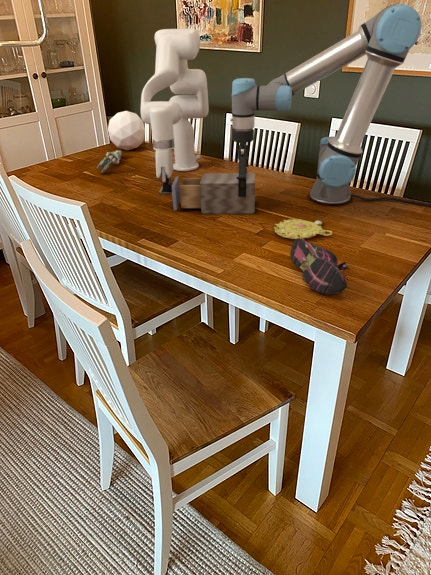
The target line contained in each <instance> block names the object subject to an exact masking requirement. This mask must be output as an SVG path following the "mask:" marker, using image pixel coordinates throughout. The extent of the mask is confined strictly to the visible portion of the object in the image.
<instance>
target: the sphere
mask: <svg viewBox="0 0 431 575" xmlns="http://www.w3.org/2000/svg"><path fill="white" fill-rule="evenodd" d="M107 131H108V135H109V141H111V142H112V143H113V145H115V146H116V148H118V149H122V150H125V151H130V150H134V149H136V148H138V147H139V146H141V145H142V144H143V143H144V142H145V136H146V129H145V124H144V122H143V120H142V118H141V117H140V116H139V115H138V114H137V113H136V112H132V111H129V110H124V111H120V112H116V114H115V115H113V116H112V117H111V118H110V119H109V122H108V125H107Z"/></svg>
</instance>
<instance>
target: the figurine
mask: <svg viewBox="0 0 431 575" xmlns="http://www.w3.org/2000/svg"><path fill="white" fill-rule="evenodd" d="M122 153H123V152H122V150H115V151H111V152H110V151H107V152H106V153H105V155H106V156H104V157H103V158H102V159H101V161H100V162H99V163H98V165H97V167H96V169H97V170H100V173H101V174H104V173H105V172H106V171H107V170H108V169H109V168H110V167H111V166H112V165H119V164H120V160H121V158H122V157H123V154H122Z"/></svg>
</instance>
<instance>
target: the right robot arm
mask: <svg viewBox="0 0 431 575" xmlns="http://www.w3.org/2000/svg"><path fill="white" fill-rule="evenodd" d="M421 31H422V20H421V16H420V14H419V13H418V11H417V10H416V9H415V8H414V7H413V6H410V5H408V4H404V3H397V4H391V5H388V6H386V7H384V8H383V9H381V10H380V11H379V12H378V13H376V14H375V15H374V16H372V17H371V18H370V19H368V20H367V21H365V22H363V23H362V24H360V25H359V26H358V28H357V30H356V31H354V32H353V33H351V34H349V35H348V36H346V37H345V38H342V39H341V40H340V41H338V42H336V43H335V44H333V45H331V46H329V47H328V48H326V49H324V50H323V51H321V52H319V53H317V54H316V55H314V56H312V57H310V58H309V59H307V60H305V61H304V62H302V63H301V64H299V65H297V66H295V67H294V68H292V69H290V70H289V71H287V72H285V73H284V74H282V75H281V76H279V77H275V78H273V79H271V80H270V81H269V82H268V84H267V85H257V84H256V80H255V79H254V78H251V77H250V78H249V77H241V78H236V79H233V81H232V84H231V115H232V116H231V118H230V119H229V121H230V122H231V128H232V130H231V140H232V141H233V142H234V143H238V144H237V145H236V146H237V147H236V152H237V160H238V173H239V176H238V177H237V179H238V197H246V173H248V168H249V163H248V161H247V160H248V156H249V151H250V150H249V146H250V145H249V144H247V143H252V142H253V141H254V140H255V129H254V128H255V119H256V118H255V116H256V115H255V111H263V112H264V111H269V112H283V111H284V112H286V111H290V110H291V108H292V99H293V96H294V95H296V94H297V93H300V92H302V91H303V90H305V89H307V88H308V87H310V86H312V85H314V84H316V83H317V82H319V81H321V80H323V79H325V78H327V77H328V76H330V75H332V74H334V73H335V72H337V71H339V70H341V69H343V68H345V67H347V66H348V65H350V64H352V63H353V62H356V61H357V60H359V59H362V58H363V57H364V56H366V57H367V60H366V63H365V64H364V66H363V70H362V72H361V74H360V77H359V79H358V82H357V84H356V87H355V88H354V91H353V94H352V96H351V98H350V101H349V103H348V106H347V108H346V111H345V113H344V116H343V117H342V120H341V123H340V125H339V127H338V130H337V133H336V134H335V136H325V137H322V138H321V139H320V143H319V145H318V146H319V151H318V163H317V172H316V178H315V180H314V183H313V184H312V185H311V186H310V193H309V199H310V200H311V201H312V202H314V203H316V204H320V205H325V206H343V205H346V204H348V203H350V201H351V199H352V198H356V199H359V200H362V201H366V202H371V201H372V202H374V201H382V200H387V201H388V200H389V201H395V202H403V203H407V204H408V203H409V204H415V205H422V206H426V207H427V206H428V207H431V203H430V202H423V201H418V200H412V199H406V198H405V199H404V198H399V197H390V196H380V197H379V196H378V197H364V196H360V195H358V194H353V193H352V192H351V187H350V183H352V181H353V180H354V178H355V176H356V173H357V166H358V163H359V161H360V159H361V156H362V154H363V149H362V147H361V146H362V143H363V141H364V139H365V136H366V134H367V132H368V130H369V127H370V125H371V123H372V122H373V119H374V116H375V114H376V111H377V109H378V108H379V106H380V103H381V101H382V99H383V96H384V94H385V92H386V90H387V87H388V85H389V84H390V80H391V79H392V77H393V74H394V72H395V70H396V69H397V68H398V67H400V66H401V65H403V64H404V62H405V60H406V58H407V56H408V54H409V52H410V50H411V49H412V48H413V47H414V45H415V44H416V43H417V41H418V40H419V37H420V35H421ZM240 175H244V176H240Z"/></svg>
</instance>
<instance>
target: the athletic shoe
mask: <svg viewBox="0 0 431 575" xmlns="http://www.w3.org/2000/svg"><path fill="white" fill-rule="evenodd" d="M289 258H290V259H291V262H292V263H293V264H294V265H295V267H297V268H299V269H301V271H302V277H303V280H304V282H305V283H306V284H307V285H308V287H309V288H311V291H316V292H317V293H320V294H323V295H324V294H326V295H334V294H338V293H342V292H344V291H345V290H346V289H347V286H348V282H347V280H346V278H345V276H344V274H343V272H342V271H346V270H350V268H349V266H348V264H347V262H346V261H343V262H341V263H339V260H338V257H337V256H336V254H335V253H333V252H332V251H330V250H329V249H327V248H325V247H322V246H318V245H316V244H314V243H311V242H308V241H306V240H305V239H300V238H298V239H294V240H293V243H292V244H291V248H290V253H289ZM338 263H339V264H338Z"/></svg>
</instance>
